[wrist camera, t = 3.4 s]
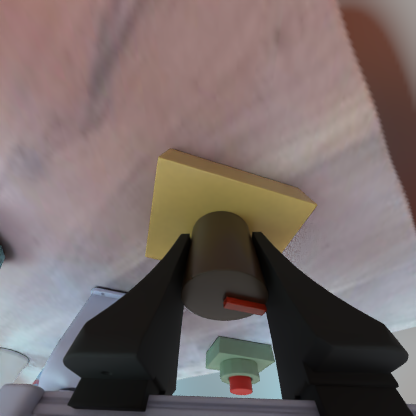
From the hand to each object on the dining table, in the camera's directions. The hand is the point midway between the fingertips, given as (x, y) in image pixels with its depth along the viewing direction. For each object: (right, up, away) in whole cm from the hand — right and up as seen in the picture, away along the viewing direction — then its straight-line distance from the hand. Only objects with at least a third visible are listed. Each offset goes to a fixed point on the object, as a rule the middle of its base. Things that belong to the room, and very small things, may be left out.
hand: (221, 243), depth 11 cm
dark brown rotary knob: (0, 0, +1) cm, 1 cm away
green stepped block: (+5, -25, +19) cm, 31 cm away
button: (+5, -26, +15) cm, 31 cm away
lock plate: (0, +2, +4) cm, 4 cm away
